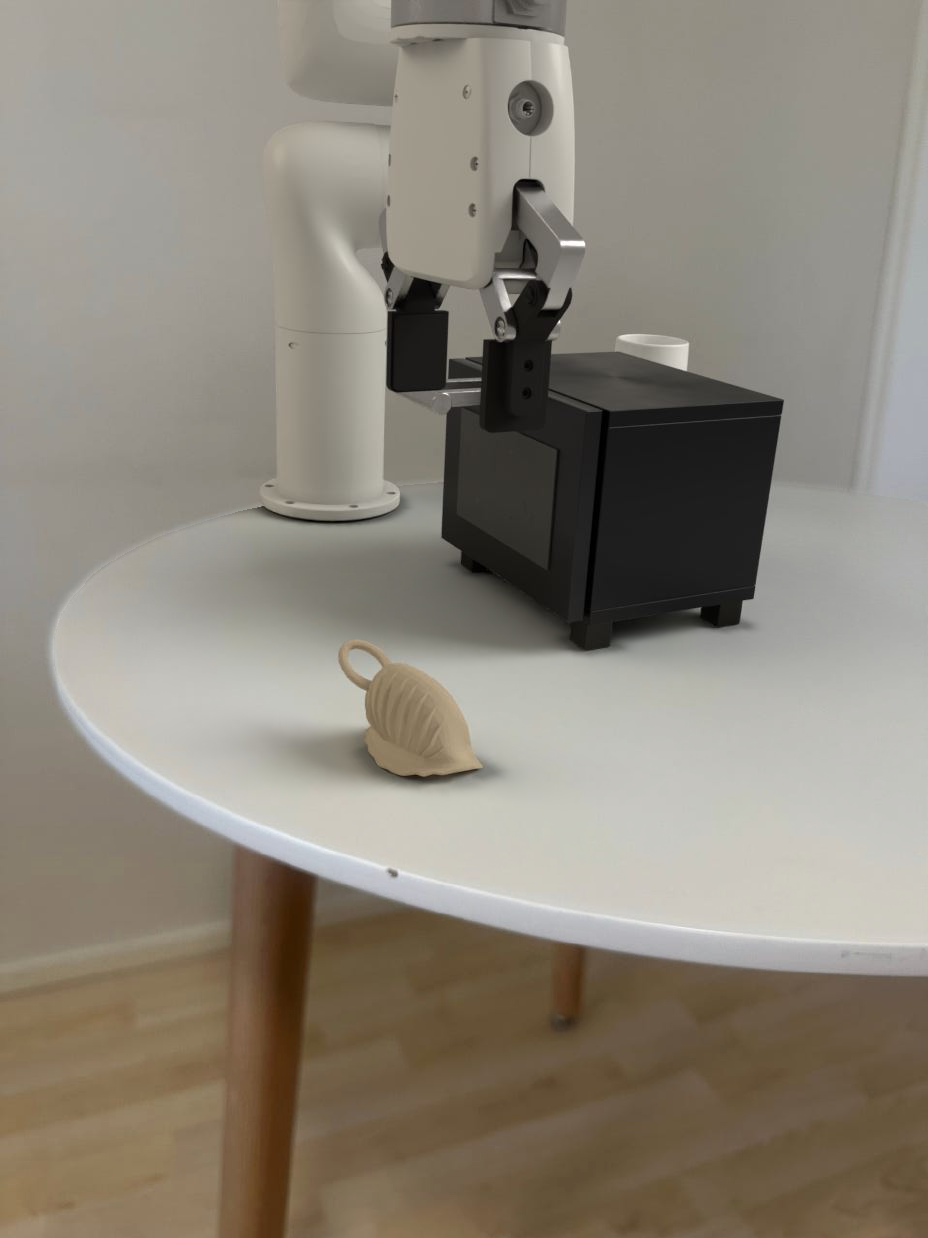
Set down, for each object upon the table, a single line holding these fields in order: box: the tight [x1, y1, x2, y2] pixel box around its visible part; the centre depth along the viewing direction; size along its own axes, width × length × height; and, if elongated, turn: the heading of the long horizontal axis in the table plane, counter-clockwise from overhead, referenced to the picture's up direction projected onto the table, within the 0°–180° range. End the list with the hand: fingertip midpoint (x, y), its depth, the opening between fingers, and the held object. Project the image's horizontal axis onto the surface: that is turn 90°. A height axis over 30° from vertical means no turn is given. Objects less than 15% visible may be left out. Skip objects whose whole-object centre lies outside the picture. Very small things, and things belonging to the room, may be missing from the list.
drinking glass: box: [613, 333, 690, 372], centre depth 107 cm, size 7×7×15 cm
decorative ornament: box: [337, 639, 484, 778], centre depth 61 cm, size 4×8×5 cm, turn 43°
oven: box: [460, 351, 785, 651], centre depth 83 cm, size 14×19×16 cm
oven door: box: [394, 357, 603, 624], centre depth 78 cm, size 8×18×14 cm, turn 27°
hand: (460, 408), depth 56 cm, fingers open, 9 cm apart
